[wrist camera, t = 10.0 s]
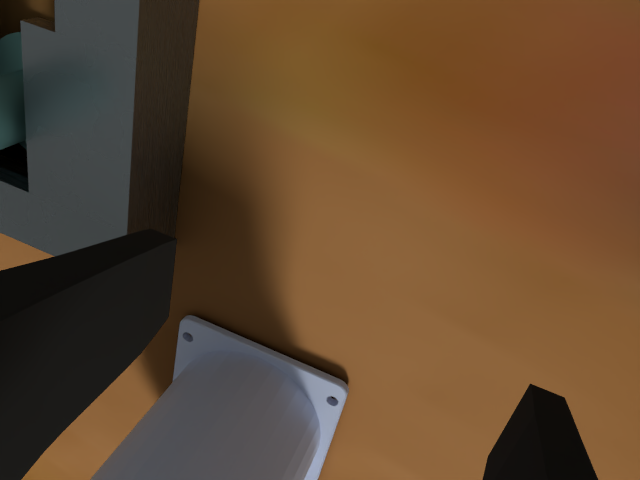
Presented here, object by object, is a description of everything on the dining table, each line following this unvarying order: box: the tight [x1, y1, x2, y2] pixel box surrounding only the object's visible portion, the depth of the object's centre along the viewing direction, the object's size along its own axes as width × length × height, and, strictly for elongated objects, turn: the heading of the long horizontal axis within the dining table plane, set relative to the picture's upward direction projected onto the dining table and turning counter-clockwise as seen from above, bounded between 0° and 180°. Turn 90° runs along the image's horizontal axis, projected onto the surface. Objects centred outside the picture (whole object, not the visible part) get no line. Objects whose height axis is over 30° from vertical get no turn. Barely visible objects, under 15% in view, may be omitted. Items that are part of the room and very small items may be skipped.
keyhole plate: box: [0, 0, 199, 256], centre depth 20 cm, size 16×12×3 cm
